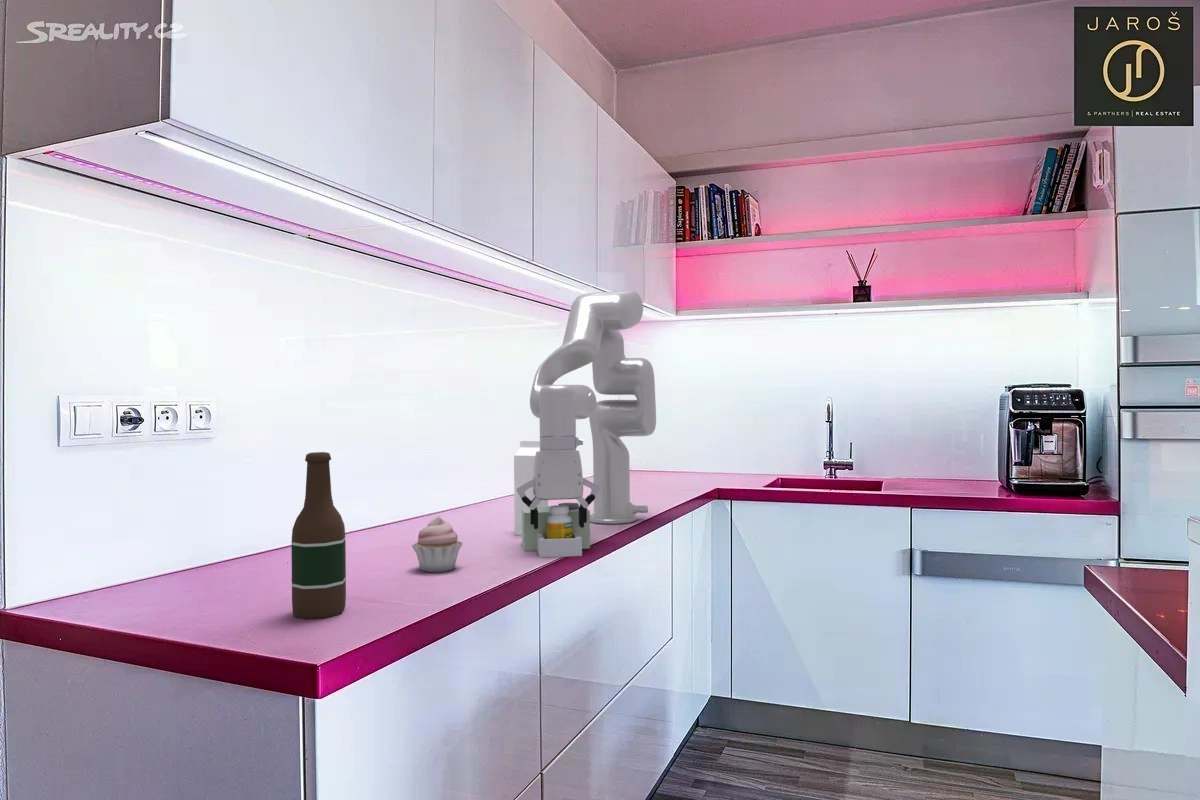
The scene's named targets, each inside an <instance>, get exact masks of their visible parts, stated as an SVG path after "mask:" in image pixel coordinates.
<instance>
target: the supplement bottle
mask: <svg viewBox="0 0 1200 800" xmlns="http://www.w3.org/2000/svg"><path fill="white" fill-rule="evenodd" d="M549 512H550V514H551V516H549V517H548V518H547V539H562V538H572V518H571V517H570V516H569V515H568V513H569V506H566V505H559V504H557V505H550V511H549Z"/></svg>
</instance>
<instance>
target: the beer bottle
mask: <svg viewBox="0 0 1200 800" xmlns="http://www.w3.org/2000/svg"><path fill="white" fill-rule="evenodd" d="M331 460H332V457H331V453H329V452H326V451H325V452H324V451H318V452H317V451H316V452H309V453H306V454H305V458H304V461H305V462H306V476H305V478H306V479H305V496H304V502H303V508H302V509H301V511H300V513H299V514H298V516H297V517H296V518H295V520H294V524H293V527H292V531H291V533H292V534H291V607H292V615H293V616H295V617H296V618H298V617H300V618H299V619H302V618H303V620H318V619H319V618H321V619H327V618H330V617H331V618H332V617H334V615H335V616H338V614H339V615H341V614H342V613H343V612H344V610H345V607H346V604H347V603H346V602H347V601H346V600H347V582H346V581H347V569H346V568H347V566H346V565H347V562H346V561H347V560H346V554H347V551H346V550H347V549H346V527H345V522H344V520H343V518H342V515H341V513H340V512H339V511H338V510H337V508H336V507H335V505H334V500H333V496H332V495H333V494H332V483H331V482H332V481H331V470H330V469H331V468H330V461H331ZM317 618H318V619H317Z"/></svg>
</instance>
